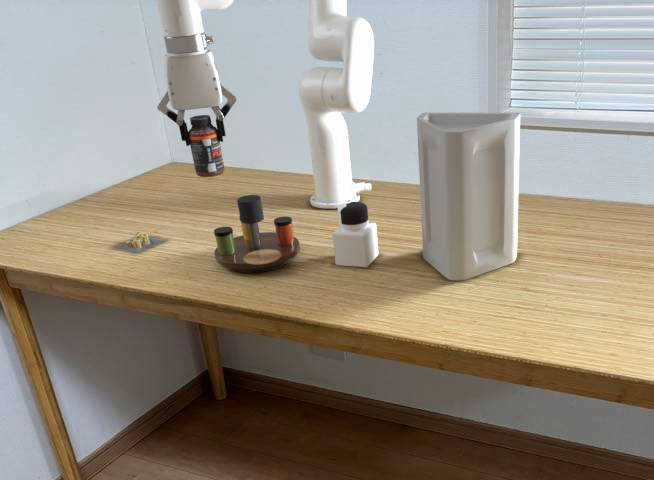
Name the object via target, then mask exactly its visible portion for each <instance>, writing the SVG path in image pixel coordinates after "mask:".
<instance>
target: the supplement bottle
mask: <svg viewBox="0 0 654 480" xmlns="http://www.w3.org/2000/svg"><path fill="white" fill-rule="evenodd" d="M189 121H190V126H191V128H189V129H188V136H189V141H190V145H189V146H190V150H191V155H192V159H193V165H194V170H195V175H197V176H198V177H200V178H213V177H218V176H220V175H223V174H224V173H225V171H226V170H225V162H224V157H223V152H222V146H221V141H219V136H218V130H217V126H215V125H213V124H212V119H211V116H210V115H208V114H199V115H194V116H191V117H190V118H189Z"/></svg>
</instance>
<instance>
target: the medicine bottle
mask: <svg viewBox="0 0 654 480" xmlns="http://www.w3.org/2000/svg"><path fill="white" fill-rule="evenodd" d="M367 205H368V204H366V203H364V202H362V201H358V202H347V203H344V204H342V205H340V206H339V207H338V208H337V217H338V225H339V226H338V227H337V228H336V229H335V230H334V231H333V232H332V235H331V236H332V242H333V243H332V244H333V253H334V261H335V265H336V266H341V267H355V268H368V267H369V266H370V265H371V264H372V263H373V261H374V260H376V258H377V257H379V254H380V253H379V244H378V243H379V242H378V241H379V240H378V229H377V228H378V227H377V223H375V222H370V221H369V210H368V209H369V208H368V206H367Z"/></svg>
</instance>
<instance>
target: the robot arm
mask: <svg viewBox="0 0 654 480" xmlns="http://www.w3.org/2000/svg"><path fill="white" fill-rule="evenodd" d="M308 1H309V3H308V23H307V27H308V28H307V48H308V52H309V53H310V55H311V57H312V58H314V59H316V60H318V61H323V62H338V63H339V62H340V63H342V62H343V64H342V65H343V66H342V67H331V66H330V67H329V66H315V67H311V68H309V69H306V70H305V71H304V72H303V73H302V74H301V76H300V78H299V81H298V96H299V99H300V102H301V105H302V108H303V112H304V117H305V121H306V127H307V133H308V141H309V150H310V151H309V152H310V158H311V159H310V160H311V167H312V168H311V169H312V175H313V183H314V191H315V194H313V195H311V197H310V198H309V202H310V205H311V206H312V207H314V208H318V209H324V210H325V209H326V210H332V209H333V210H334V209H338V207H339V206H340V205H342V204H344V203H347V202H360V199H361V195H360V193H361V192H369V191H370V192H371V191H372V190H373V189H372V183H371V182H367V183H366V182H365V181H361V182H355V181H354V180H353V175H352V166H351V165H352V164H351V155H350V143H349V133H348V127H347V126H348V125H347V123H346V121H345V118H344V116H343V115H342V113H343V114H357V113H361V112H363V111H364V110H365V109H366V108H367V106H368V104H369V102H370V98H371V91H372V81H373V68H374V56H375V39H374V37H375V36H374V33H373V30H372V27H371V25H370V23H369V22H368V21H367V20H366V19H365V18H364V17H362V16H358V15H347V7H348V6H347V5H348V1H347V0H308ZM155 2H156V5H157V6H156V7H157V12H158V16H159V21H160V26H161V32H162V35H163V41H164V45H165V51H166V53H165V54H163V64H164V65H163V66H164V67H163V68H164V75H165V84H166V89H167V90H166V92H165V93H164V95H163V96H162V98H161V100H160V101H159V103H158V104H157V106H156V107H157V110H158V111H159V112H161V113H162V114H164V115H165V116H166V117H168V118H169V119H170V120H172V121H173V122H174V123H175V124H176V125H177V126H178V129H179V133H180V138H181V141H182V142H185V146H186V147H189V146H190V141H189V136H188V131H189V129H188V124H187V122H186V120H185V119H184V118H185V112H186V111H188V110H189V111H190V110H197V109H198V110H199V109H208V108H211V110H212V111H213V113H214V115H215V124H216V128H217V130H218V136H219V141H220V143H223V142H224V138H223V137H226V136H227V135H226V129H225V123H224V120H225V118H226V116H227V115H228V113H229V112H230V110H231V109H232V108H233V106H234V105H235V103H236V102H237V97H236V96H235V94H233V93H232V92H231V91H230V90H228V89H227V88H226V87H224V85H222V84H221V80H220V76H219V72H218V67H217V64H216V60H215V57H214V54H213V51H212V49H208V46H209V45H211V44H214V37H213V35H208V34H205V31H204V25H203V20H202V19H203V18H202V14H201V12H202V11H221V10H224V9H227V8H229V7H230V6H231V5H232V4H233V3H234V2H235V0H155ZM223 97H224V98H226V99H227V101H226V102H225V104H224V105H223V106H222V108H221V107H220V105H221V104H222V103H223ZM168 104H170V107H171V108H172V109H173V110H172V109H170V108H169V107H168V106H167V105H168ZM174 110H175V111H177V112H174Z"/></svg>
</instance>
